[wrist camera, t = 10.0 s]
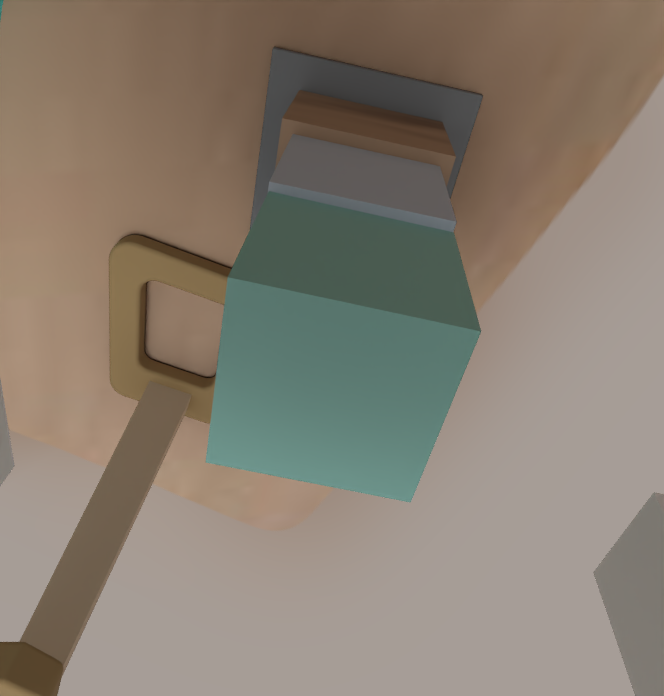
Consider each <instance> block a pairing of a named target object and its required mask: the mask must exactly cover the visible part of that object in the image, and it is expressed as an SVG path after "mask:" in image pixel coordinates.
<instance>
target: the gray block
mask: <svg viewBox="0 0 664 696" xmlns="http://www.w3.org/2000/svg"><path fill="white" fill-rule="evenodd" d="M269 191H270V192H275V193H279V194H284V195H288V196H293V197H297V198H302V199H306V200H311V201H315V202H320V203H324V204H329V205H333V206H338V207H342V208H347V209H351V210H356V211H360V212H364V213H369V214H373V215H378V216H382V217H387V218H391V219H396V220H400V221H405V222H409V223H414V224H418V225H423V226H427V227H432V228H436V229H441V230H445V231H449V232H453V231H454V228H455V225H456V218H455V215H454V211H453V208H452V205H451V201H450V198H449V195H448V191H447V188H446V185H445V181H444V178H443V174H442V171H441V168H440V166H436V165H432V164H427V163H423V162H418V161H414V160H409V159H405V158H400V157H395V156H391V155H386V154H382V153H377V152H373V151H368V150H364V149H359V148H354V147H350V146H345V145H341V144H336V143H332V142H327V141H323V140H318V139H313V138H309V137H304V136H300V135H295V134H293V135H292V137H291V139H290V141H289V143H288V145H287V147H286V149H285V151H284V153H283V155H282V157H281V159H280V161H279V163H278V165H277V167H276V169H275V171H274V173H273V175H272V177H271V179H270V181H269V187H268V192H269Z"/></svg>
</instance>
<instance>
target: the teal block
mask: <svg viewBox="0 0 664 696" xmlns="http://www.w3.org/2000/svg"><path fill="white" fill-rule="evenodd" d="M480 333H481V329H480V326H479V322H478V318H477V315H476V311H475V307H474V304H473V300H472V297H471V293H470V289H469V286H468V282H467V278H466V275H465V271H464V268H463V264H462V260H461V257H460V253H459V249H458V246H457V242H456V239H455V235H454V232H449V231H445V230H441V229H436V228H432V227H427V226H423V225H418V224H414V223H409V222H405V221H400V220H396V219H391V218H387V217H382V216H378V215H373V214H369V213H364V212H360V211H356V210H351V209H347V208H342V207H338V206H333V205H329V204H324V203H320V202H315V201H311V200H306V199H302V198H297V197H293V196H288V195H284V194H279V193H275V192H270V191H269V192H268V194H267V196H266V198H265V200H264V202H263V204H262V206H261V208H260V210H259V213H258V215H257V217H256V219H255V221H254V223H253V225H252V227H251V229H250V231H249V233H248V236H247V238H246V240H245V242H244V244H243V246H242V248H241V250H240V252H239V254H238V257H237V259H236V261H235V263H234V265H233V267H232V269H231V271H230V273H229V275H228V279H227V287H226V296H225V304H224V312H223V321H222V329H221V338H220V346H219V354H218V363H217V371H216V380H215V388H214V397H213V405H212V413H211V422H210V430H209V439H208V447H207V455H206V463H212V464H217V465H222V466H227V467H232V468H237V469H242V470H247V471H252V472H258V473H263V474H268V475H273V476H278V477H283V478H288V479H293V480H298V481H304V482H309V483H314V484H319V485H324V486H329V487H334V488H340V489H345V490H350V491H355V492H361V493H365V494H371V495H375V496H381V497H385V498H391V499H396V500H401V501H406V502H411V500H412V498H413V495H414V493H415V490H416V488H417V485H418V483H419V481H420V478H421V476H422V473H423V471H424V468H425V466H426V464H427V461H428V459H429V456H430V454H431V451H432V449H433V447H434V444H435V442H436V439H437V437H438V435H439V432H440V430H441V427H442V425H443V423H444V420H445V417H446V415H447V413H448V410H449V408H450V406H451V403H452V401H453V398H454V396H455V393H456V391H457V388H458V386H459V384H460V381H461V379H462V376H463V374H464V371H465V369H466V367H467V364H468V362H469V360H470V357H471V355H472V352H473V350H474V347H475V345H476V343H477V340H478V338H479V335H480Z"/></svg>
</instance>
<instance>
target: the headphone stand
mask: <svg viewBox="0 0 664 696" xmlns="http://www.w3.org/2000/svg"><path fill="white" fill-rule="evenodd" d="M230 271H231V269H230V268H227V267H224V266H221V265H219V264H216V263H213V262H211V261H208V260H205V259H203V258H200V257H197V256H195V255H192V254H189V253H186V252H184V251H181V250H178V249H176V248H173V247H170V246H168V245H165V244H162V243H159V242H157V241H154V240H151V239H149V238H146V237H143V236H140V235H130V236H126V237H124V238H122V239H121V240H120V241H119V242H118V243H117V244H116V245H115V246H114V248H113V249H112V250H111V252H110V256H109V330H110V383H111V385H112V387H113V388H114V390H115V391H116V392H118V393H119V394H121V395H123V396H126V397H129V398H132V399H135V400H138V401H139V403H138V405H137V407H136V409H135V411H134V413H133V415H132V417H131V419H130V421H129V423H128V425H127V427H126V429H125V431H124V433H123V435H122V437H121V439H120V441H119V443H118V445H117V447H116V449H115V451H114V453H113V455H112V457H111V459H110V461H109V463H108V465H107V467H106V469H105V471H104V473H103V475H102V477H101V479H100V482H99V483H98V485H97V487H96V489H95V491H94V493H93V495H92V497H91V499H90V502H89V503H88V506H87V507H86V510H85V511H84V513H83V515H82V517H81V519H80V521H79V523H78V526H77V527H76V529H75V532H74V533H73V536H72V538H71V539H70V541H69V543H68V545H67V547H66V549H65V551H64V553H63V556H62V557H61V559H60V561H59V564H58V565H57V567H56V569H55V572H54V574H53V575H52V577H51V579H50V582H49V583H48V585H47V587H46V589H45V592H44V594H43V595H42V598H41V599H40V602H39V604H38V606H37V608H36V610H35V612H34V614H33V616H32V618H31V620H30V622H29V624H28V626H27V628H26V630H25V632H24V634H23V636H22V638H21V640H20V642H0V696H57V694H58V690H59V686H60V682H61V678H62V675H63V673H64V671H65V669H66V667H67V665H68V663H69V660H70V658H71V656H72V654H73V652H74V650H75V648H76V645H77V643H78V641H79V639H80V637H81V635H82V633H83V631H84V629H85V626H86V624H87V622H88V620H89V618H90V616H91V614H92V611H93V609H94V607H95V605H96V603H97V601H98V599H99V596H100V594H101V592H102V590H103V588H104V586H105V584H106V581H107V579H108V577H109V575H110V573H111V571H112V569H113V566H114V564H115V562H116V560H117V558H118V556H119V554H120V552H121V550H122V547H123V545H124V543H125V541H126V539H127V537H128V535H129V532H130V530H131V528H132V526H133V524H134V522H135V519H136V517H137V515H138V513H139V511H140V509H141V507H142V505H143V502H144V500H145V498H146V496H147V494H148V492H149V490H150V488H151V485H152V483H153V481H154V479H155V477H156V475H157V473H158V470H159V468H160V466H161V464H162V462H163V460H164V458H165V456H166V453H167V451H168V449H169V447H170V445H171V443H172V441H173V438H174V436H175V434H176V432H177V430H178V428H179V426H180V424H181V421H182V419H183V417H184V416H186V417H189V418H193V419H196V420H199V421H202V422H205V423H210V422H211V413H212V405H213V397H214V388H215V380H216V375H215V376H214V377H212V378H204V377H201V376H198V375H195V374H192V373H189V372H186V371H183V370H180V369H177V368H174V367H171V366H168V365H165V364H162V363H159V362H156V361H154V360H151V359H150V358H148V357H147V356H146V354H145V352H144V337H145V306H146V282H148V281H159V282H162V283H165V284H168V285H170V286H173V287H176V288H179V289H181V290H184V291H187V292H190V293H192V294H195V295H198V296H201V297H204V298H206V299H209V300H212V301H215V302H217V303H220V304H223V305H224V304H225V296H226V287H227V279H228V275H229V273H230Z"/></svg>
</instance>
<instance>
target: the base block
mask: <svg viewBox="0 0 664 696" xmlns="http://www.w3.org/2000/svg"><path fill="white" fill-rule="evenodd" d="M293 134H295V135H300V136H304V137H309V138H313V139H318V140H323V141H327V142H332V143H336V144H341V145H345V146H350V147H354V148H359V149H364V150H368V151H373V152H377V153H382V154H386V155H391V156H395V157H400V158H405V159H409V160H414V161H418V162H423V163H427V164H432V165H436V166H440V168H441V171H442V174H443V178H444V181H445V185H446V187H447V184H448V181H449V178H450V174H451V171H452V168H453V165H454V162H455V158H456V155H455V153H454V150H453V148H452V145H451V143H450V140H449V137H448V135H447V132H446V130H445V127H444V125H443V122H440V121H436V120H431V119H427V118H423V117H418V116H414V115H409V114H405V113H400V112H396V111H391V110H387V109H382V108H378V107H374V106H369V105H365V104H360V103H356V102H351V101H347V100H342V99H338V98H333V97H329V96H325V95H320V94H316V93H311V92H307V91H302V90H299V92H298V93H297V95H296V96H295V98H294V100H293V101H292V103H291V105H290V106H289V108H288V110H287V111H286V113H285V114H284V116H283V118H282V123H281V130H280V137H279V144H278V151H277V158H276V165H275V169H276V167H277V165H278V163H279V161H280V159H281V157H282V155H283V153H284V151H285V149H286V147H287V145H288V143H289V141H290V139H291V137H292V135H293Z"/></svg>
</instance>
